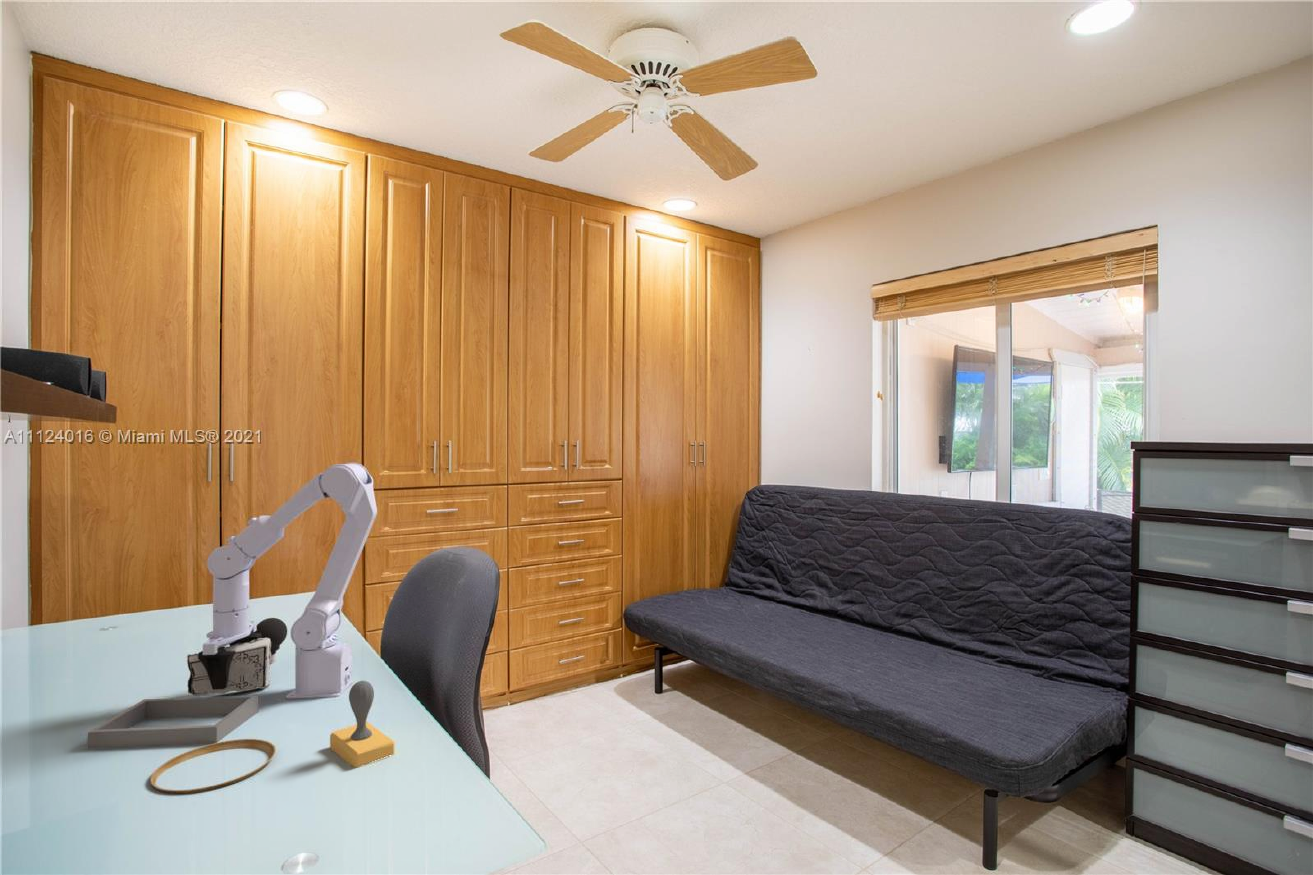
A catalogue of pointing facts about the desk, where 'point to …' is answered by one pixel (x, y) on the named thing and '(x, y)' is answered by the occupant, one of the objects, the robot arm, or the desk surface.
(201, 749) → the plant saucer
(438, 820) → the desk surface
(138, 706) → the box
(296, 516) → the robot arm
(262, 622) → the light bulb
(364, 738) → the rubber stamp
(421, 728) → the desk surface
